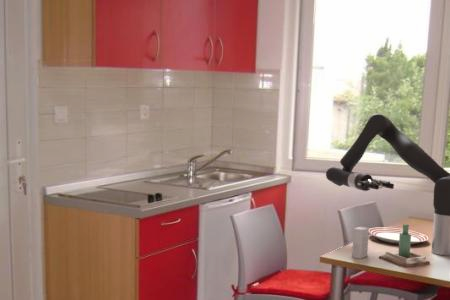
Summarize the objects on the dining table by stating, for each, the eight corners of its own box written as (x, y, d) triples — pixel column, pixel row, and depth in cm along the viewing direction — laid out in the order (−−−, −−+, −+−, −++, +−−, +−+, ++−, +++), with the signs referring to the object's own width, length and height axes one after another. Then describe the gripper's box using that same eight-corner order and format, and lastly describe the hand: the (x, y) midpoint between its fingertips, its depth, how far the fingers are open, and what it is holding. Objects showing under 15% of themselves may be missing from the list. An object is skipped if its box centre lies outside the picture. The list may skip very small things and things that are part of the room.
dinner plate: (420, 235, 294) (420, 228, 294) (434, 249, 267) (435, 242, 266) (363, 231, 296) (364, 225, 296) (372, 245, 269) (373, 237, 269)
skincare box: (358, 254, 251) (359, 226, 250) (367, 256, 248) (369, 227, 247) (351, 256, 246) (353, 228, 245) (360, 258, 243) (362, 230, 242)
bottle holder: (403, 255, 252) (404, 248, 252) (429, 264, 240) (430, 256, 240) (378, 258, 246) (379, 251, 245) (404, 267, 233) (404, 259, 233)
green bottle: (403, 256, 246) (405, 223, 244) (411, 259, 242) (413, 225, 241) (395, 257, 244) (397, 224, 242) (403, 260, 240) (405, 226, 239)
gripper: (348, 173, 266) (373, 178, 252) (372, 172, 273) (398, 177, 259) (347, 190, 267) (372, 196, 253) (371, 189, 274) (397, 194, 260)
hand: (385, 186), depth 256 cm, fingers open, 8 cm apart
